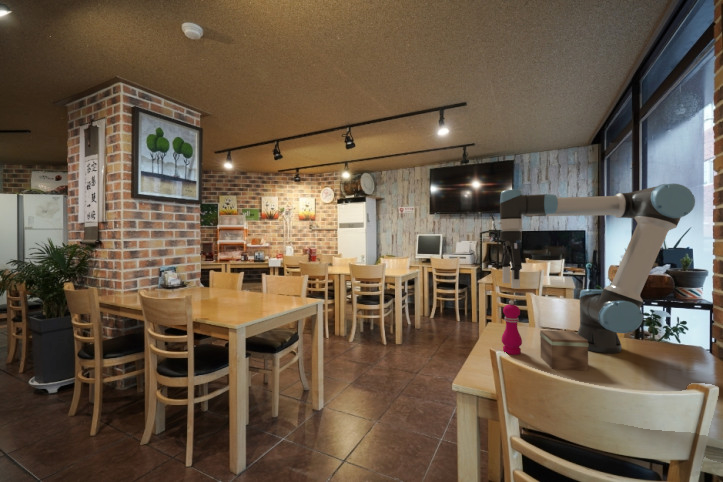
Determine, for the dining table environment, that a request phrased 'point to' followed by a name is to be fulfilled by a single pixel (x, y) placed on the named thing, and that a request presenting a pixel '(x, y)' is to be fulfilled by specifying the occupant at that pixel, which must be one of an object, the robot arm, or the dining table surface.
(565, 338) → the walnut box
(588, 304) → the robot arm
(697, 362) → the dining table surface
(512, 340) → the pepper mill
